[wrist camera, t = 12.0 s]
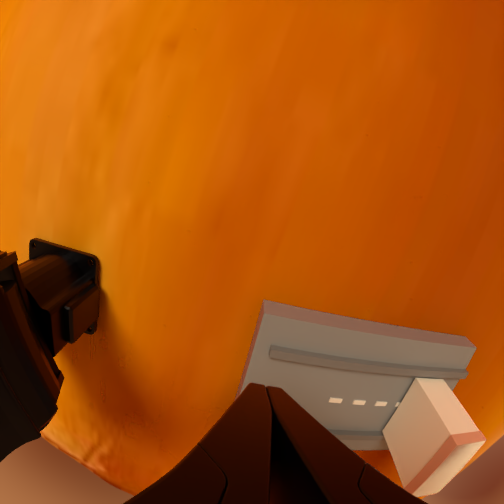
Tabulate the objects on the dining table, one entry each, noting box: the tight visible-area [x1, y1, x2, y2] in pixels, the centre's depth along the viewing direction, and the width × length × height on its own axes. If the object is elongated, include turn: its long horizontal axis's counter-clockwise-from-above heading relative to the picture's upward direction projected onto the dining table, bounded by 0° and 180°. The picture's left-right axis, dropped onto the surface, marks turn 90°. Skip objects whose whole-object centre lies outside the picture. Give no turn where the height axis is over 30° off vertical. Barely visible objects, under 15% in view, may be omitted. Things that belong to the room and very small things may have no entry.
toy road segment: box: [235, 300, 476, 450], centre depth 21 cm, size 18×12×3 cm, turn 77°
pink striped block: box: [382, 378, 486, 497], centre depth 17 cm, size 3×6×8 cm, turn 167°
